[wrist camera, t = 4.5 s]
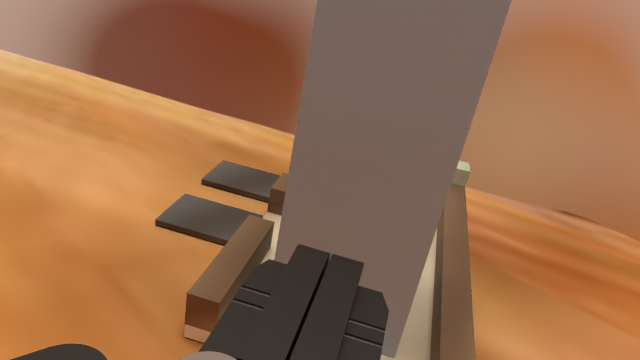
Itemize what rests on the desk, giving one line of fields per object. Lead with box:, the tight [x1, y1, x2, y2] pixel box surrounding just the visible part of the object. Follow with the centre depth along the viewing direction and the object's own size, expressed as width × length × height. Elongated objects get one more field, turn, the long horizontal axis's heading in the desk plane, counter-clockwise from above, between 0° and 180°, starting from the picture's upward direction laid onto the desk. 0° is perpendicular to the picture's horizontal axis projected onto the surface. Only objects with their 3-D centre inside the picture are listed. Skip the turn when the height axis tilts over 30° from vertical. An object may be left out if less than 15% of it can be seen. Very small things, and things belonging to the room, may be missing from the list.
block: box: [274, 0, 511, 358], centre depth 18 cm, size 5×6×13 cm
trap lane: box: [155, 160, 475, 360], centre depth 25 cm, size 15×17×3 cm
